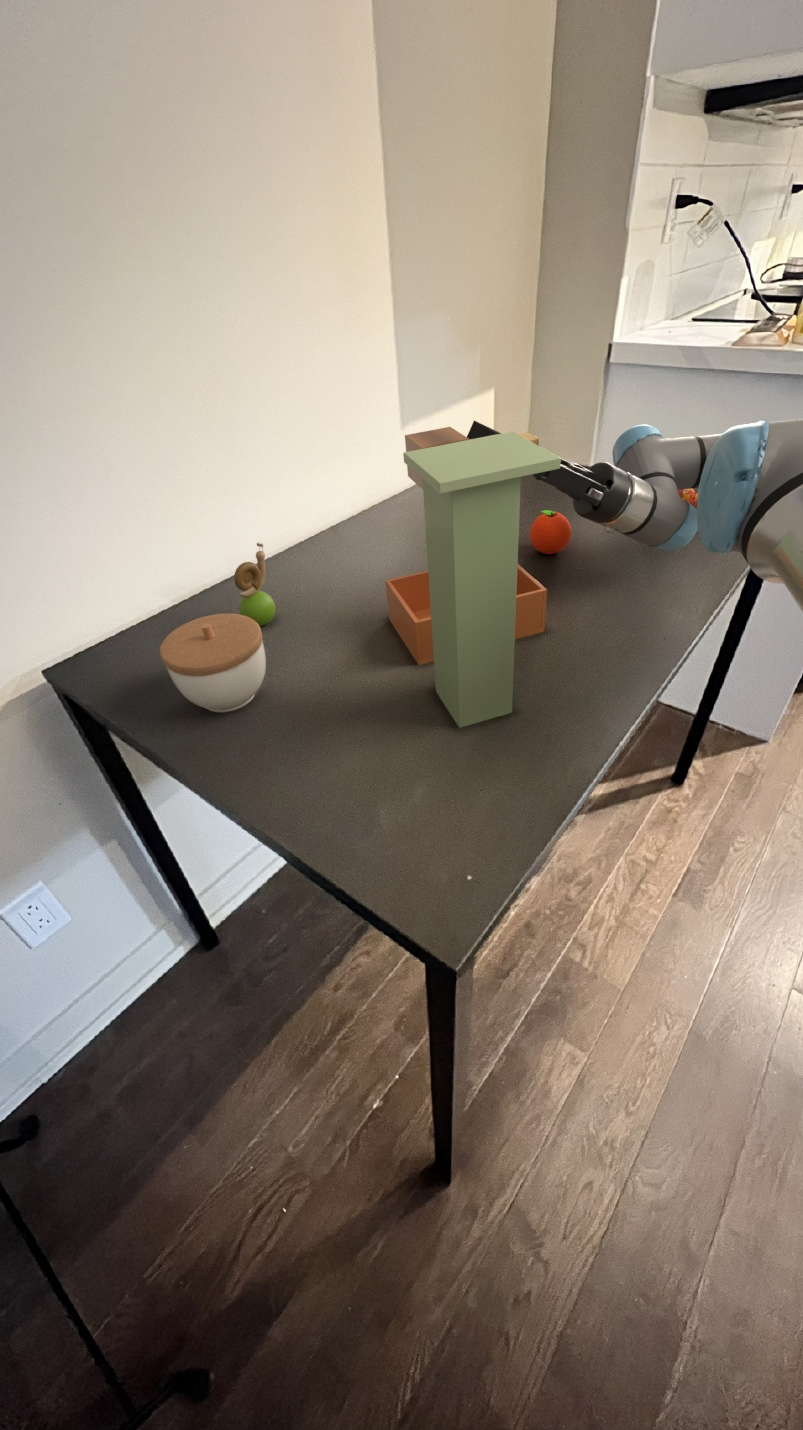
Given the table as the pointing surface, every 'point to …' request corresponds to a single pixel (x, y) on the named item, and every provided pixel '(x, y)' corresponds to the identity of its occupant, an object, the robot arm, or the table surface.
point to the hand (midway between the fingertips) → (476, 435)
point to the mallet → (437, 439)
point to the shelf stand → (475, 565)
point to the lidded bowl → (216, 660)
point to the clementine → (550, 532)
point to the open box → (414, 610)
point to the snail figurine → (254, 590)
